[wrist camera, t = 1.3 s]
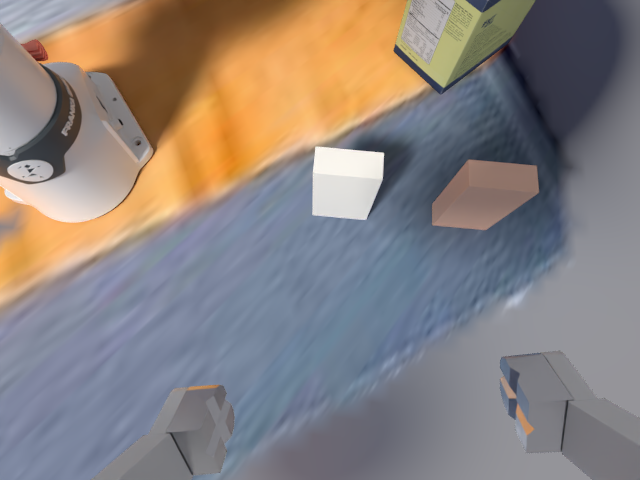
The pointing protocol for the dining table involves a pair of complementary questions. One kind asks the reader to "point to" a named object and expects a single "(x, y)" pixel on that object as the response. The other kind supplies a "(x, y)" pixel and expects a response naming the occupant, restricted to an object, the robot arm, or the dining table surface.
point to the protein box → (455, 35)
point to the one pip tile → (345, 182)
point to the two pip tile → (484, 194)
